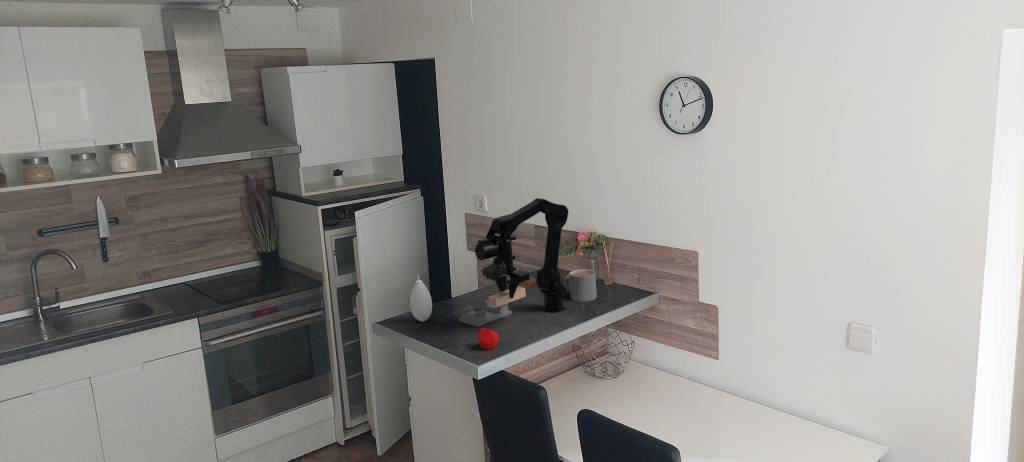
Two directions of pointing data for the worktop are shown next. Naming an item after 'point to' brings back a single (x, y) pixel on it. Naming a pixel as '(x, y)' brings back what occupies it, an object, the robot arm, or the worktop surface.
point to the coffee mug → (582, 285)
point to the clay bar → (506, 297)
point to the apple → (488, 339)
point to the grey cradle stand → (483, 314)
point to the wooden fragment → (526, 283)
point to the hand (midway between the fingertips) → (507, 297)
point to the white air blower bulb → (420, 301)
